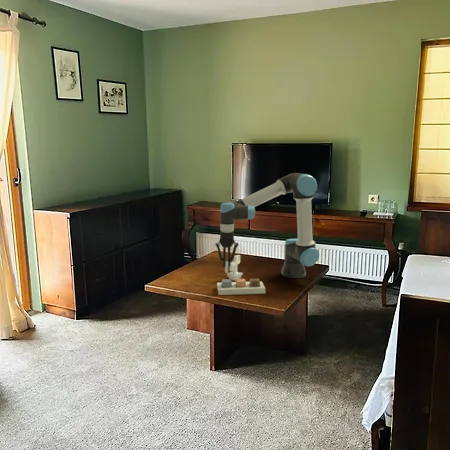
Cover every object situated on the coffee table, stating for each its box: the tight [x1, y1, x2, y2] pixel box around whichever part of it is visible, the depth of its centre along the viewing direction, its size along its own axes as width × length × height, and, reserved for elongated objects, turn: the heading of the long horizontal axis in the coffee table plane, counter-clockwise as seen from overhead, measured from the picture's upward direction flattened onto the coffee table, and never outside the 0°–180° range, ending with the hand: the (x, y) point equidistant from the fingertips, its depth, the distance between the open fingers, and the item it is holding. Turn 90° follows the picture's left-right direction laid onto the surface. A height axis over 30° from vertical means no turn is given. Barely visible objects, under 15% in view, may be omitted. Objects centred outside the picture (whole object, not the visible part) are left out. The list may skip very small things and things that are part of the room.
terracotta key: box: [235, 278, 247, 287], centre depth 251 cm, size 5×5×4 cm
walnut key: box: [249, 278, 260, 287], centre depth 252 cm, size 5×5×4 cm
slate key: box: [221, 278, 233, 288], centre depth 250 cm, size 5×5×4 cm
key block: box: [216, 281, 266, 296], centre depth 251 cm, size 26×12×3 cm, turn 95°
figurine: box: [226, 254, 244, 282], centre depth 270 cm, size 7×9×15 cm
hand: (226, 272), depth 249 cm, fingers closed
